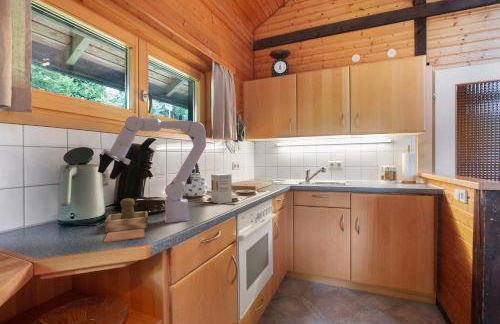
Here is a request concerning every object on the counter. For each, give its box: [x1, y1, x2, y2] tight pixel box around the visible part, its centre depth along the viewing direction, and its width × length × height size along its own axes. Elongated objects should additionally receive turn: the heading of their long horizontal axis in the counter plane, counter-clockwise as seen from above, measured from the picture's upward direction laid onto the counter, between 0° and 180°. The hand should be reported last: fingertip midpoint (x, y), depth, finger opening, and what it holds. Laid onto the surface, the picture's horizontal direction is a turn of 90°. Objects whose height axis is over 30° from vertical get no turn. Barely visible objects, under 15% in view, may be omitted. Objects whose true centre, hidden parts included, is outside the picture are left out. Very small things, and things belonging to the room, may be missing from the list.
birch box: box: [104, 210, 149, 234], centre depth 101 cm, size 15×13×4 cm
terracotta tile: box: [103, 228, 145, 244], centre depth 88 cm, size 12×10×1 cm
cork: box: [119, 197, 136, 220], centre depth 101 cm, size 6×6×11 cm
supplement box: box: [210, 173, 233, 205], centre depth 152 cm, size 10×9×17 cm
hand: (105, 175), depth 98 cm, fingers open, 7 cm apart
